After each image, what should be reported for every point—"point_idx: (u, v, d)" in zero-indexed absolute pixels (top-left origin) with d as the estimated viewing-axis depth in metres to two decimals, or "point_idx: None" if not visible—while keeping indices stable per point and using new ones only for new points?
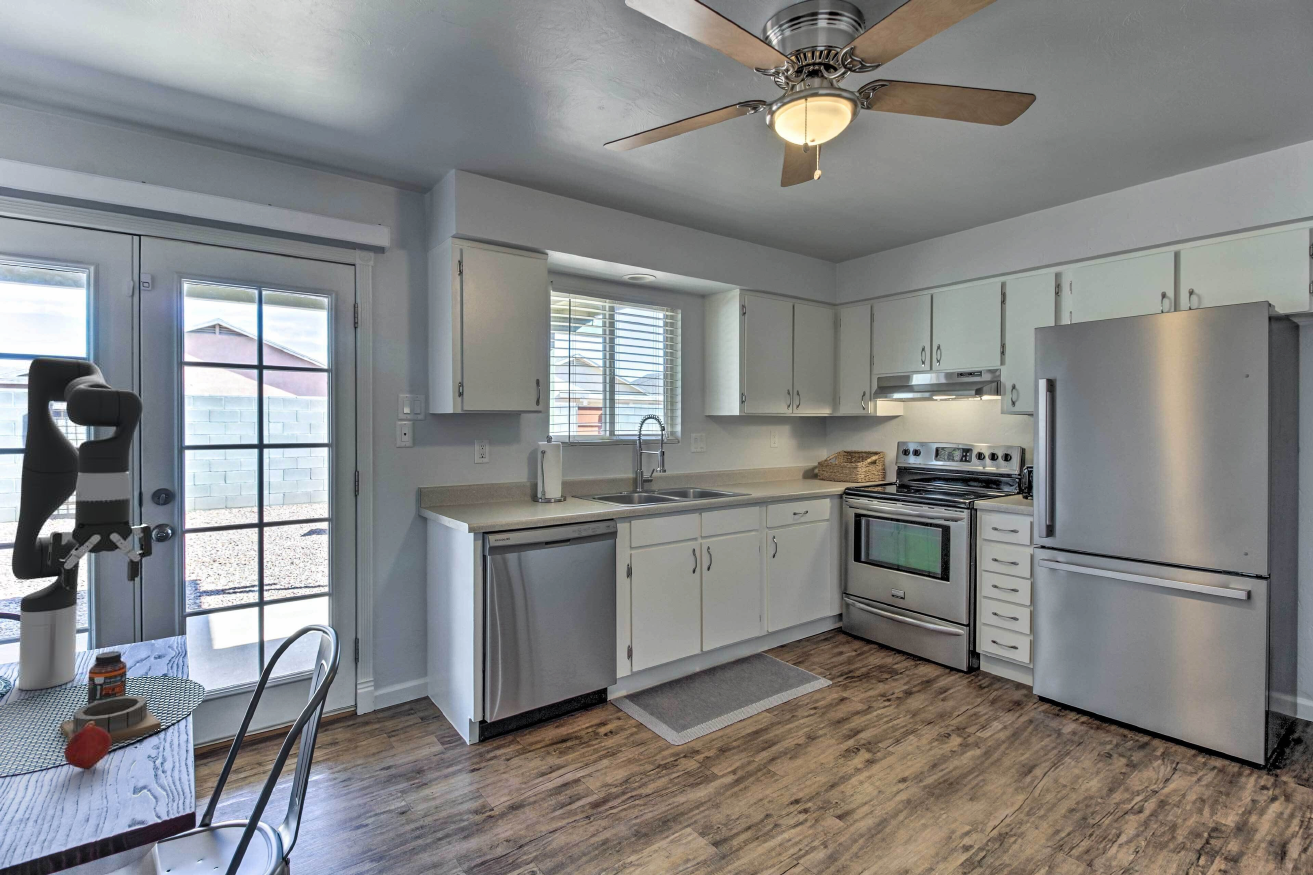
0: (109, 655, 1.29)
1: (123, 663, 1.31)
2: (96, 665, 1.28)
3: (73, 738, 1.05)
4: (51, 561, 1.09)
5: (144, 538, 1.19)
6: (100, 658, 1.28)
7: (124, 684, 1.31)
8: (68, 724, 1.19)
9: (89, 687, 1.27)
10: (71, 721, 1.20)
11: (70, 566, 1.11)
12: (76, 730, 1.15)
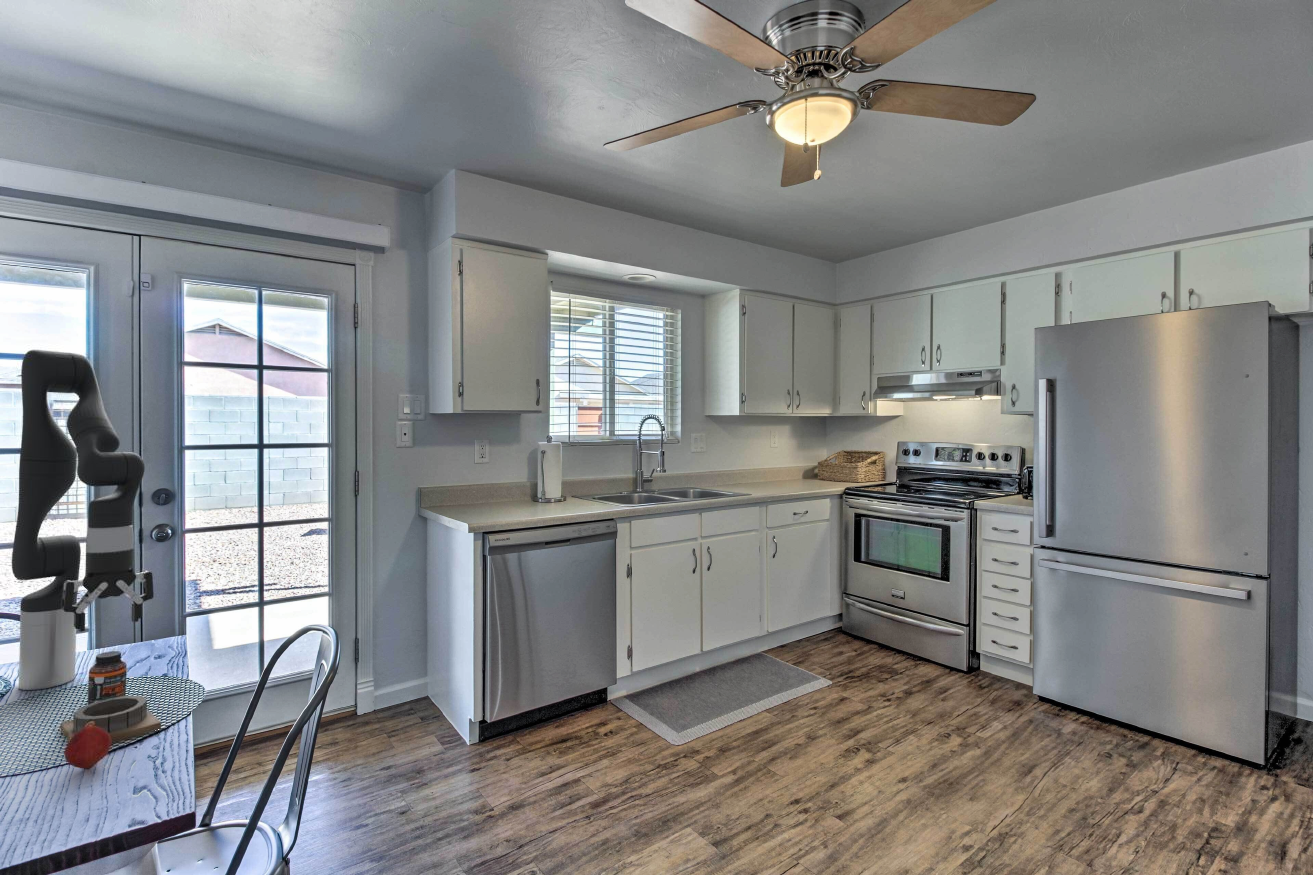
0: (109, 655, 1.29)
1: (123, 663, 1.31)
2: (96, 665, 1.28)
3: (73, 738, 1.05)
4: (65, 607, 1.24)
5: (146, 583, 1.34)
6: (100, 658, 1.28)
7: (124, 684, 1.31)
8: (68, 724, 1.19)
9: (89, 687, 1.27)
10: (71, 721, 1.20)
11: (81, 611, 1.25)
12: (76, 730, 1.15)
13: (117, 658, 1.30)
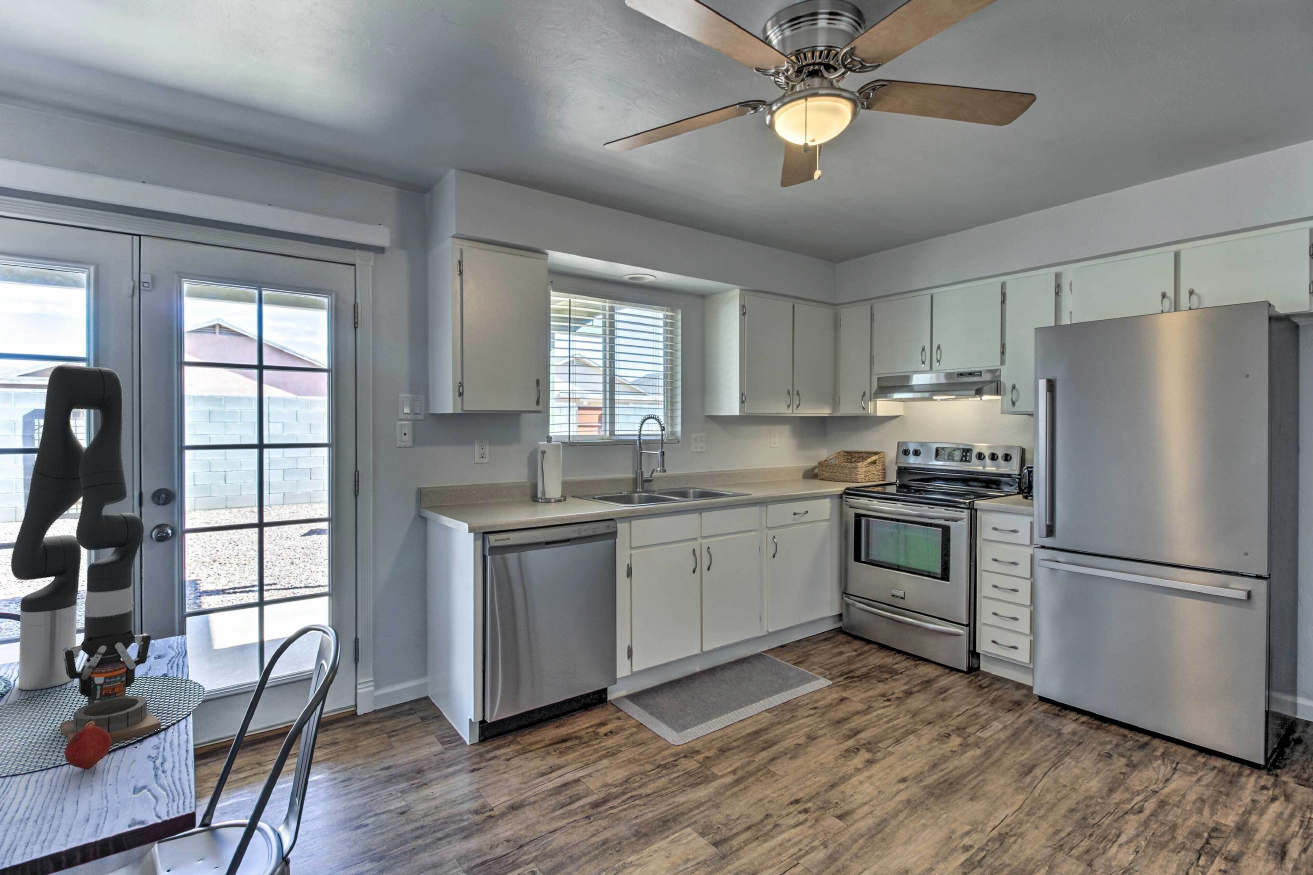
0: (109, 655, 1.29)
1: (123, 663, 1.31)
2: (96, 665, 1.28)
3: (73, 738, 1.05)
4: (69, 675, 1.24)
5: (143, 646, 1.33)
6: (100, 658, 1.28)
7: (124, 684, 1.31)
8: (68, 724, 1.19)
9: None
10: (71, 721, 1.20)
11: (86, 677, 1.26)
12: (76, 730, 1.15)
13: (117, 658, 1.30)
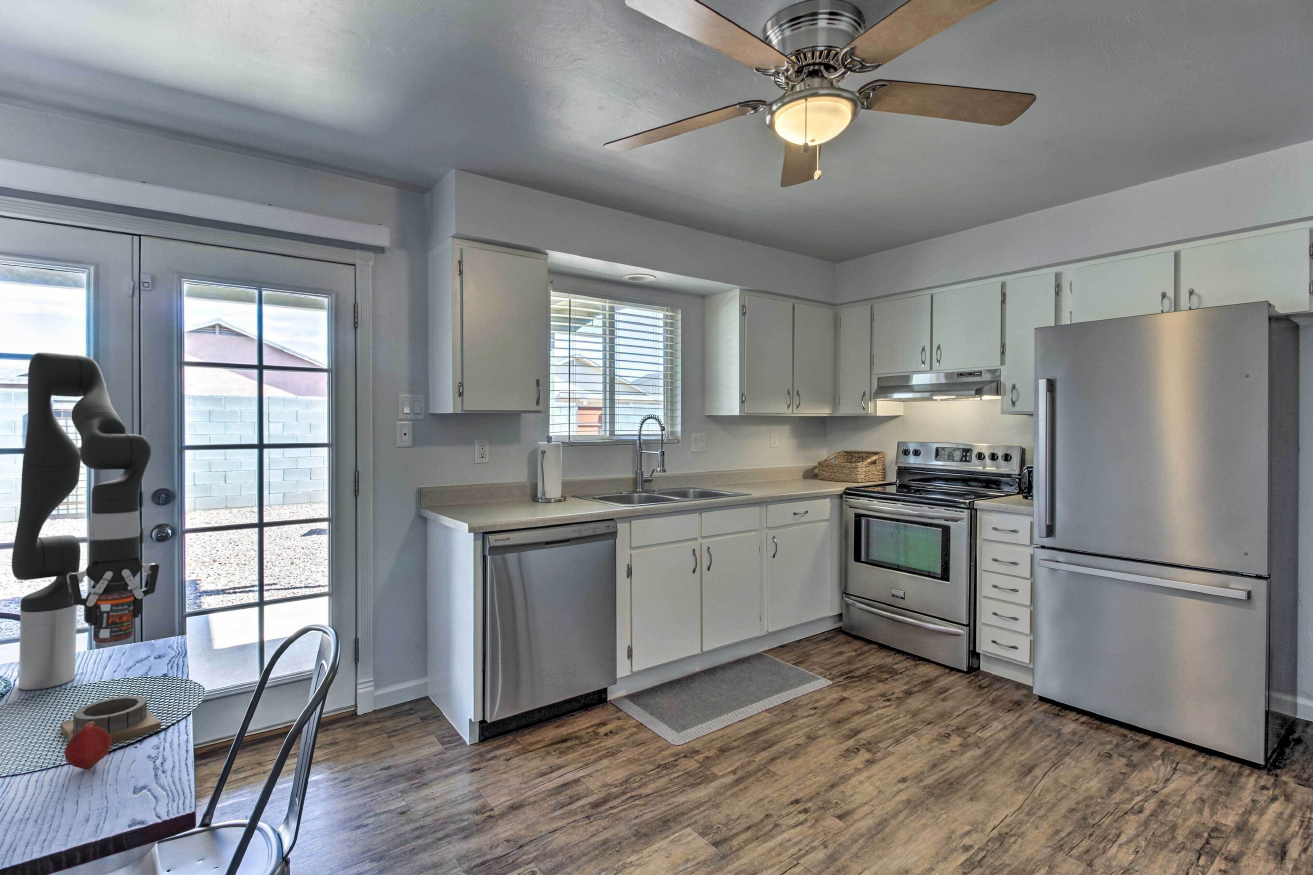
0: (116, 582, 1.22)
1: (130, 592, 1.24)
2: (102, 592, 1.21)
3: (73, 738, 1.05)
4: (74, 600, 1.17)
5: (151, 576, 1.26)
6: (106, 585, 1.21)
7: (132, 614, 1.23)
8: (68, 724, 1.19)
9: None
10: (71, 721, 1.20)
11: (92, 604, 1.19)
12: (76, 730, 1.15)
13: (124, 586, 1.23)
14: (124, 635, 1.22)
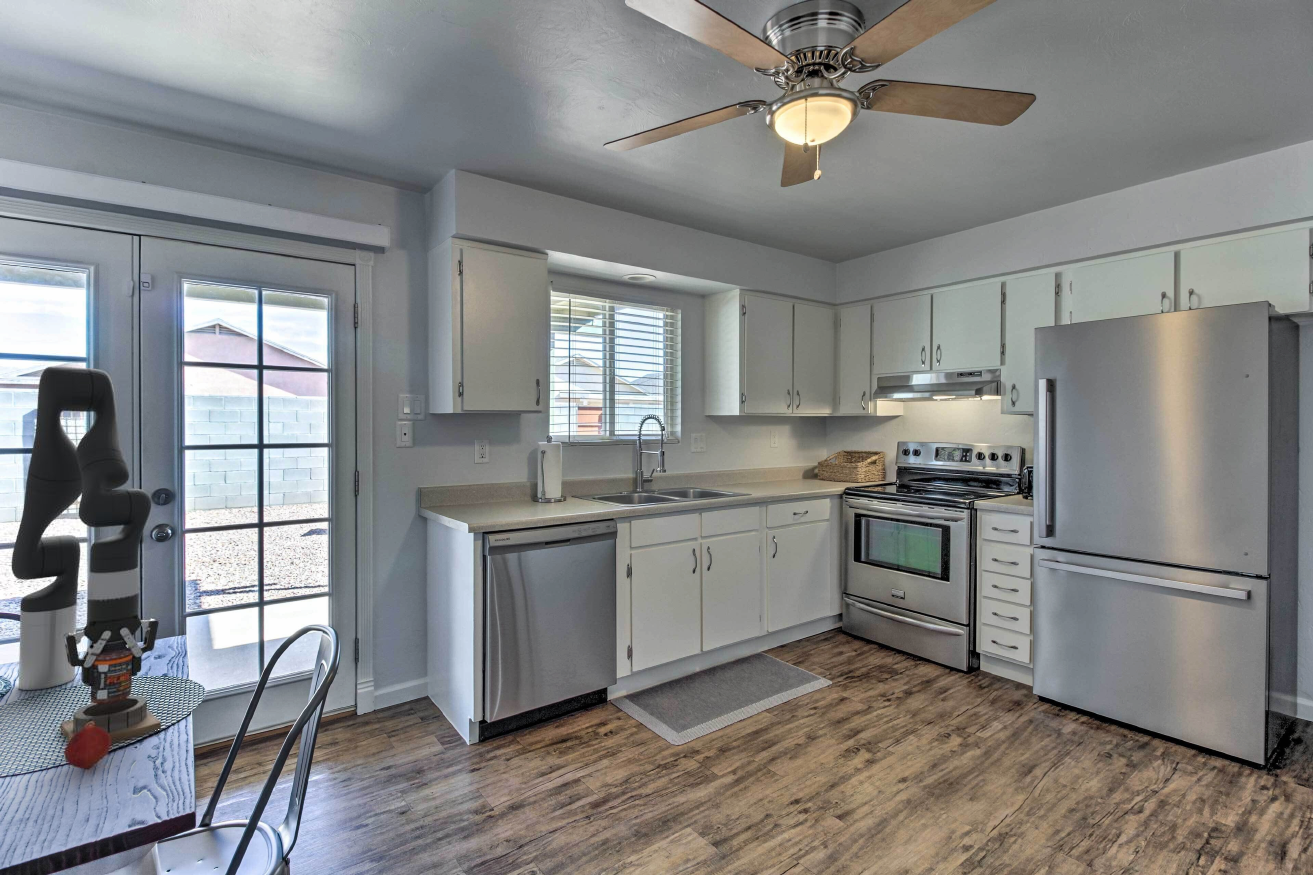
0: (114, 641, 1.20)
1: (129, 650, 1.21)
2: (100, 652, 1.19)
3: (73, 738, 1.05)
4: (71, 662, 1.15)
5: (150, 632, 1.24)
6: None
7: (130, 673, 1.21)
8: (68, 724, 1.19)
9: None
10: (71, 721, 1.20)
11: (89, 664, 1.17)
12: (76, 730, 1.15)
13: (122, 645, 1.20)
14: (122, 695, 1.20)
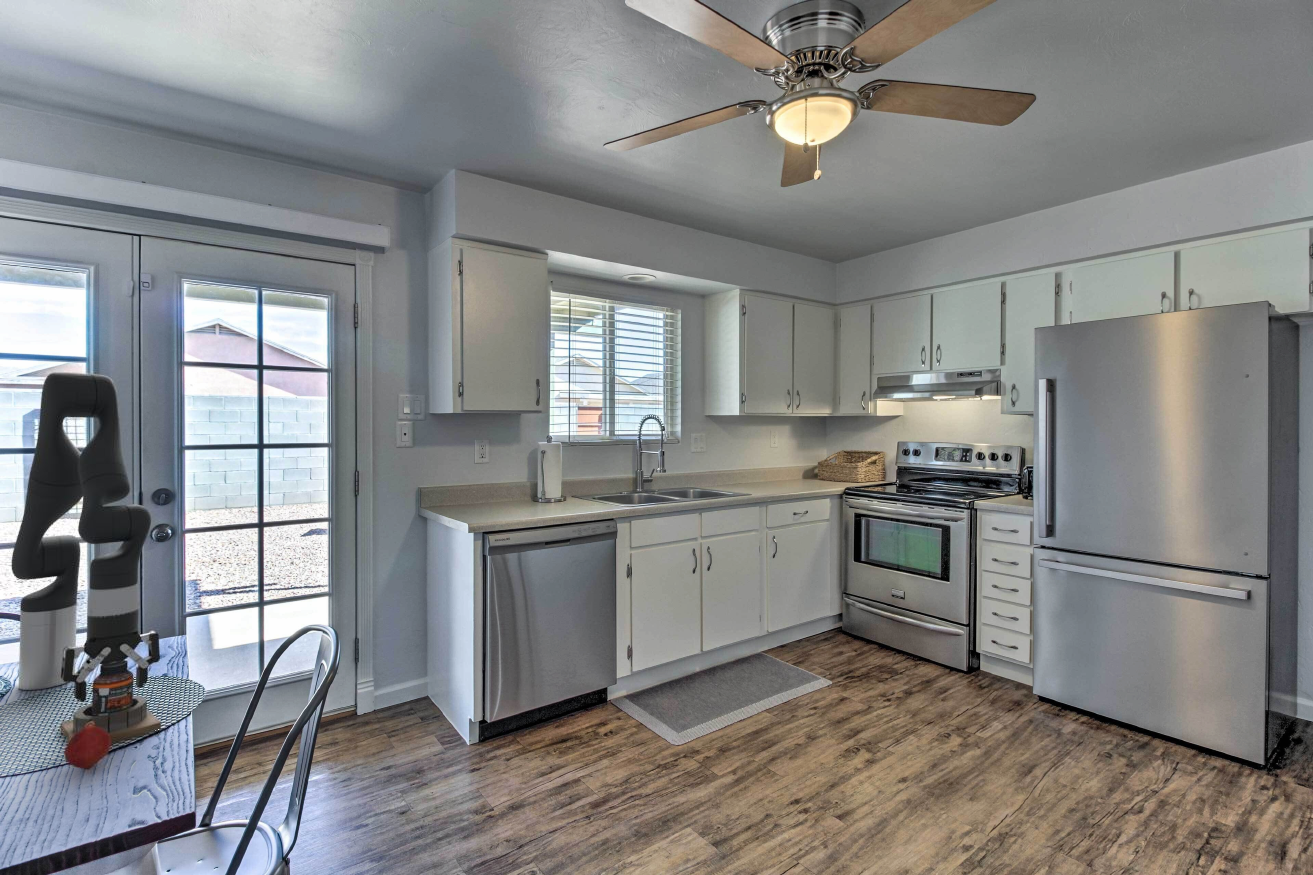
0: (115, 664, 1.20)
1: (130, 673, 1.22)
2: (101, 675, 1.19)
3: (73, 738, 1.05)
4: (64, 677, 1.14)
5: (152, 645, 1.24)
6: (105, 668, 1.19)
7: (131, 696, 1.21)
8: (68, 724, 1.19)
9: (93, 699, 1.18)
10: (71, 721, 1.20)
11: (82, 679, 1.16)
12: (76, 730, 1.15)
13: (123, 668, 1.20)
14: None
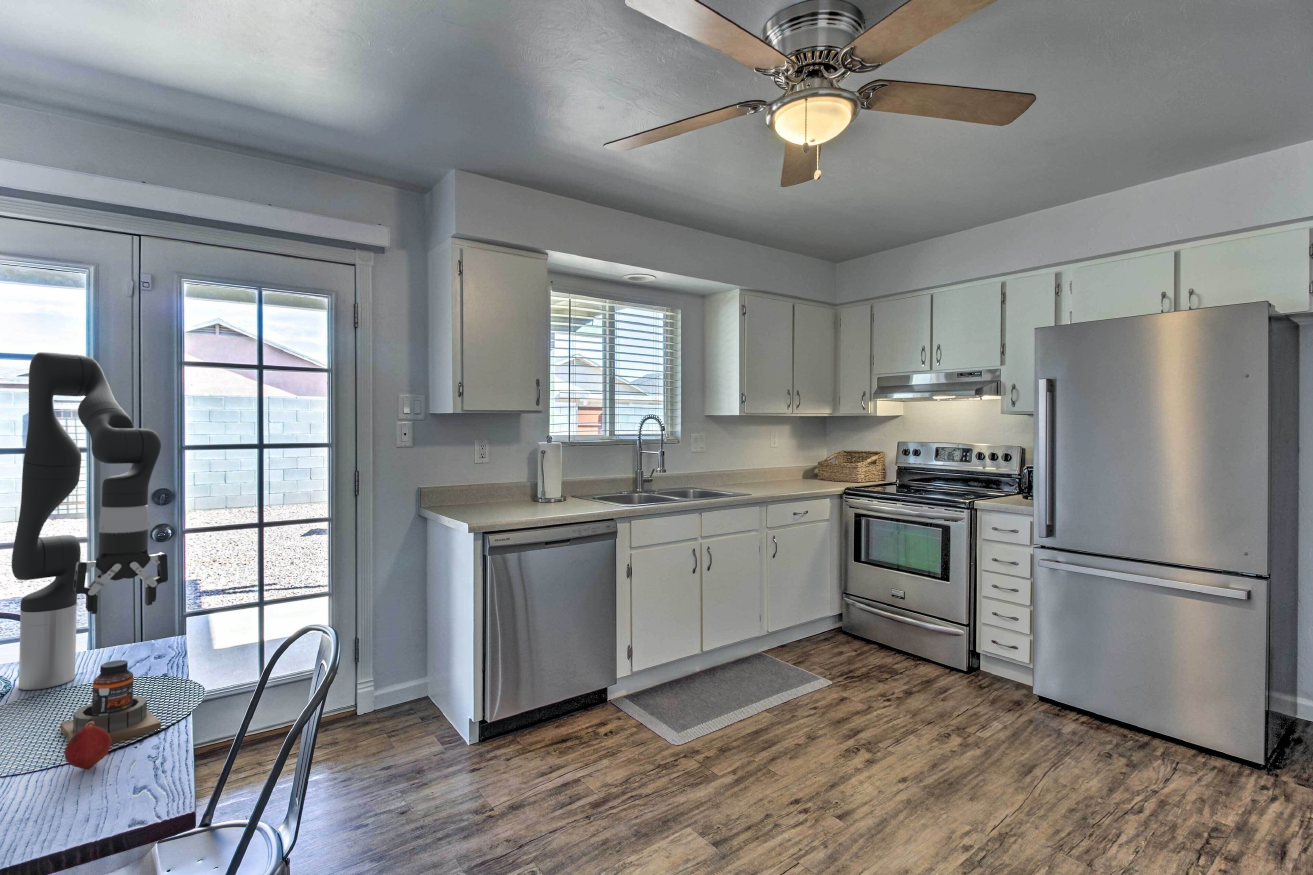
0: (115, 665, 1.20)
1: (130, 673, 1.22)
2: (101, 675, 1.19)
3: (73, 738, 1.05)
4: (76, 588, 1.19)
5: (161, 565, 1.29)
6: (105, 668, 1.19)
7: (131, 696, 1.21)
8: (68, 724, 1.19)
9: (93, 699, 1.18)
10: (71, 721, 1.20)
11: (93, 593, 1.20)
12: (76, 730, 1.15)
13: (123, 668, 1.20)
14: None
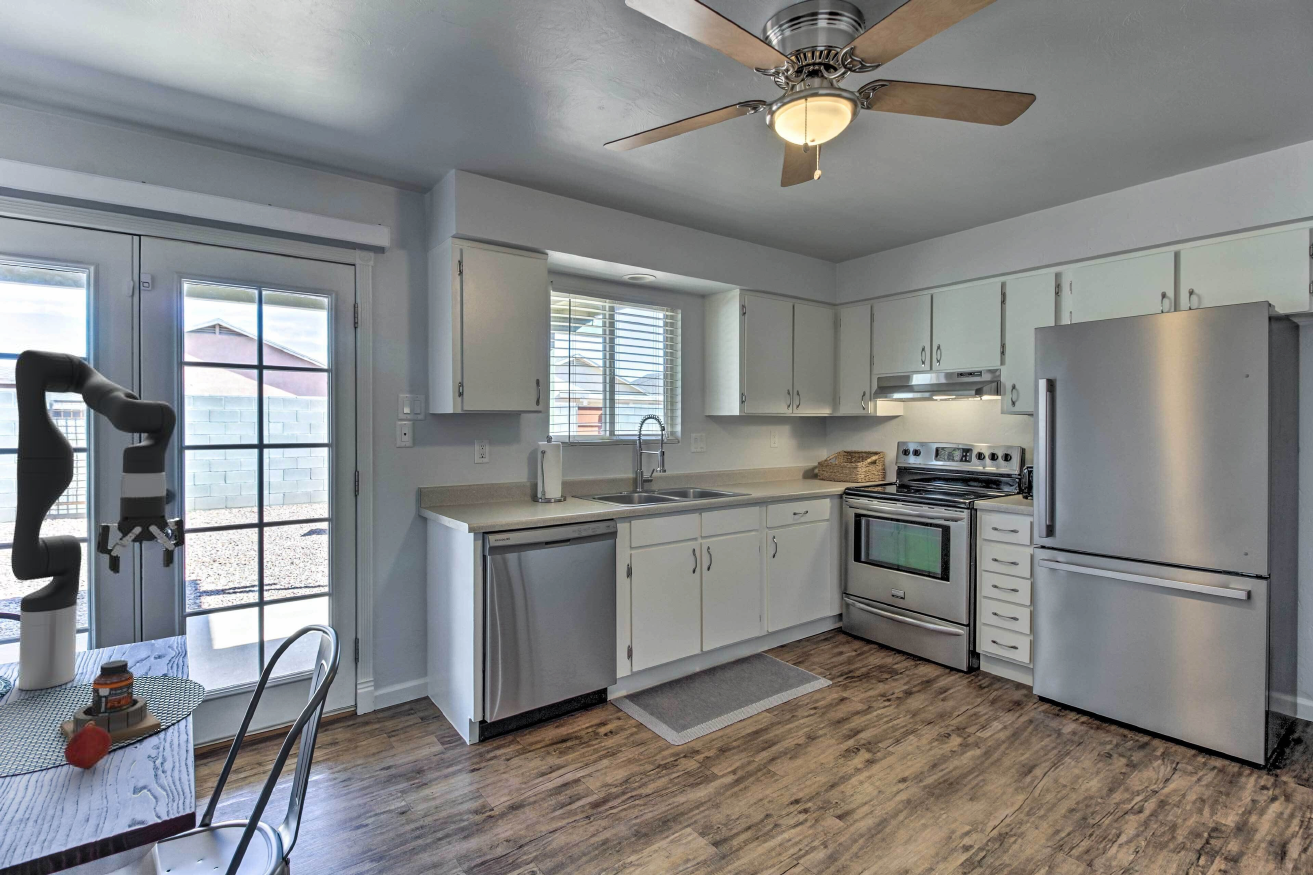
0: (115, 665, 1.20)
1: (130, 673, 1.22)
2: (101, 675, 1.19)
3: (73, 738, 1.05)
4: (100, 549, 1.27)
5: (177, 530, 1.37)
6: (105, 668, 1.19)
7: (131, 696, 1.21)
8: (68, 724, 1.19)
9: (93, 699, 1.18)
10: (71, 721, 1.20)
11: (116, 553, 1.29)
12: (76, 730, 1.15)
13: (123, 668, 1.20)
14: None
